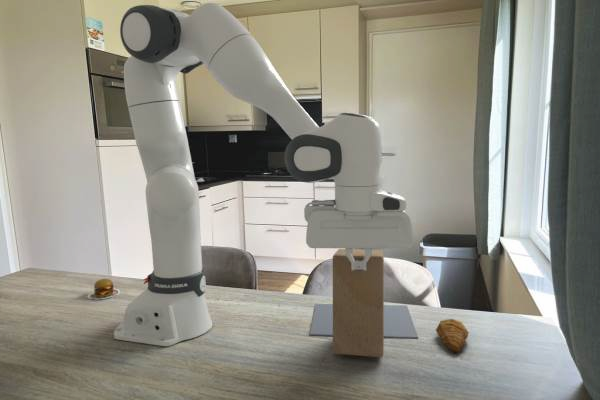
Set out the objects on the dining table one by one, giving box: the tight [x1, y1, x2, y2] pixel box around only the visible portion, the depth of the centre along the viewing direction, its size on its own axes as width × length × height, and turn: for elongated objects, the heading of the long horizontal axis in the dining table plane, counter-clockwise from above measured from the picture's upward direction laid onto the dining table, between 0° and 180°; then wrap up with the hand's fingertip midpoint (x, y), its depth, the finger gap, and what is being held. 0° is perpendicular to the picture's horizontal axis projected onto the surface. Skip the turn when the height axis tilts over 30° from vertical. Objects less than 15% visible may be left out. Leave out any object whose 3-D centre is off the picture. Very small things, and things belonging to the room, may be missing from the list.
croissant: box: [435, 318, 470, 355], centre depth 90 cm, size 14×7×5 cm, turn 165°
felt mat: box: [309, 303, 419, 339], centre depth 102 cm, size 24×18×1 cm
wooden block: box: [332, 248, 385, 358], centre depth 87 cm, size 10×10×20 cm
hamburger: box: [87, 278, 121, 301], centre depth 124 cm, size 12×12×6 cm
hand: (358, 269), depth 81 cm, fingers closed
